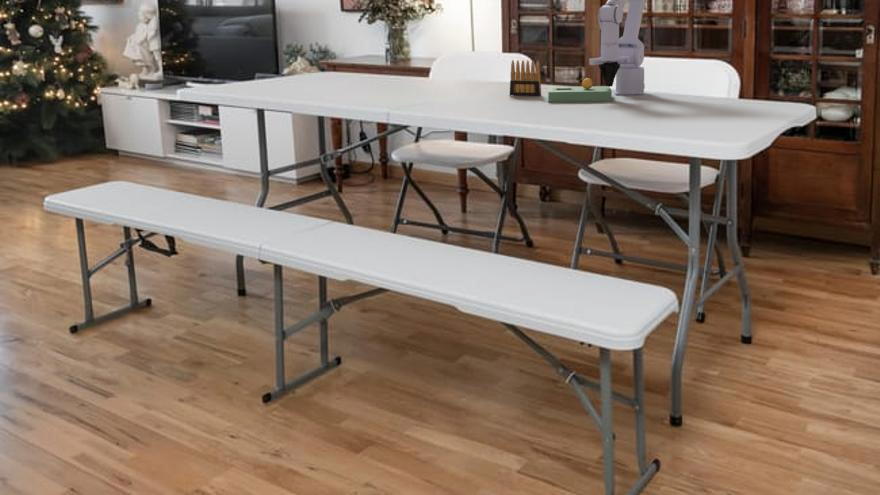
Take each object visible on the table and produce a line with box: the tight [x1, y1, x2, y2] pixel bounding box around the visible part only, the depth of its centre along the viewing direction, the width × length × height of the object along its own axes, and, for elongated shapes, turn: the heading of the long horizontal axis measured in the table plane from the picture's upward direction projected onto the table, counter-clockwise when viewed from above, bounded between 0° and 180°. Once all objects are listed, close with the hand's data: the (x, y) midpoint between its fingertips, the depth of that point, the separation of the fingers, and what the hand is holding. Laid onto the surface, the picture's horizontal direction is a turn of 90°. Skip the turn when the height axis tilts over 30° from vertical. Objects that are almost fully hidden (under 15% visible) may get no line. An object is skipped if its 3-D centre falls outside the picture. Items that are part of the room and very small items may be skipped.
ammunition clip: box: [509, 59, 542, 97], centre depth 336 cm, size 11×2×12 cm, turn 67°
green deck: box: [547, 85, 613, 103], centre depth 325 cm, size 20×14×3 cm
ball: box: [581, 77, 594, 89], centre depth 324 cm, size 4×4×4 cm
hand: (608, 86), depth 323 cm, fingers closed
